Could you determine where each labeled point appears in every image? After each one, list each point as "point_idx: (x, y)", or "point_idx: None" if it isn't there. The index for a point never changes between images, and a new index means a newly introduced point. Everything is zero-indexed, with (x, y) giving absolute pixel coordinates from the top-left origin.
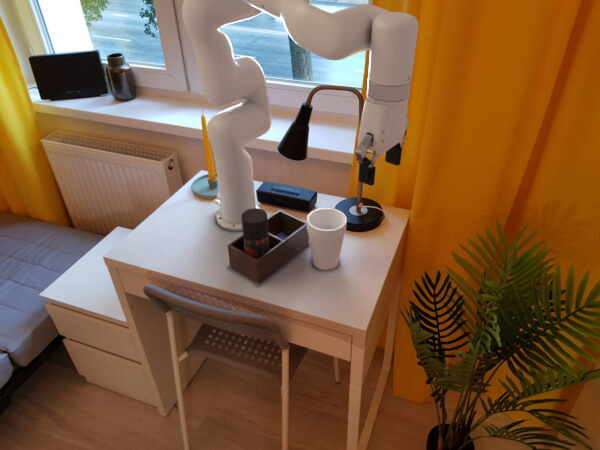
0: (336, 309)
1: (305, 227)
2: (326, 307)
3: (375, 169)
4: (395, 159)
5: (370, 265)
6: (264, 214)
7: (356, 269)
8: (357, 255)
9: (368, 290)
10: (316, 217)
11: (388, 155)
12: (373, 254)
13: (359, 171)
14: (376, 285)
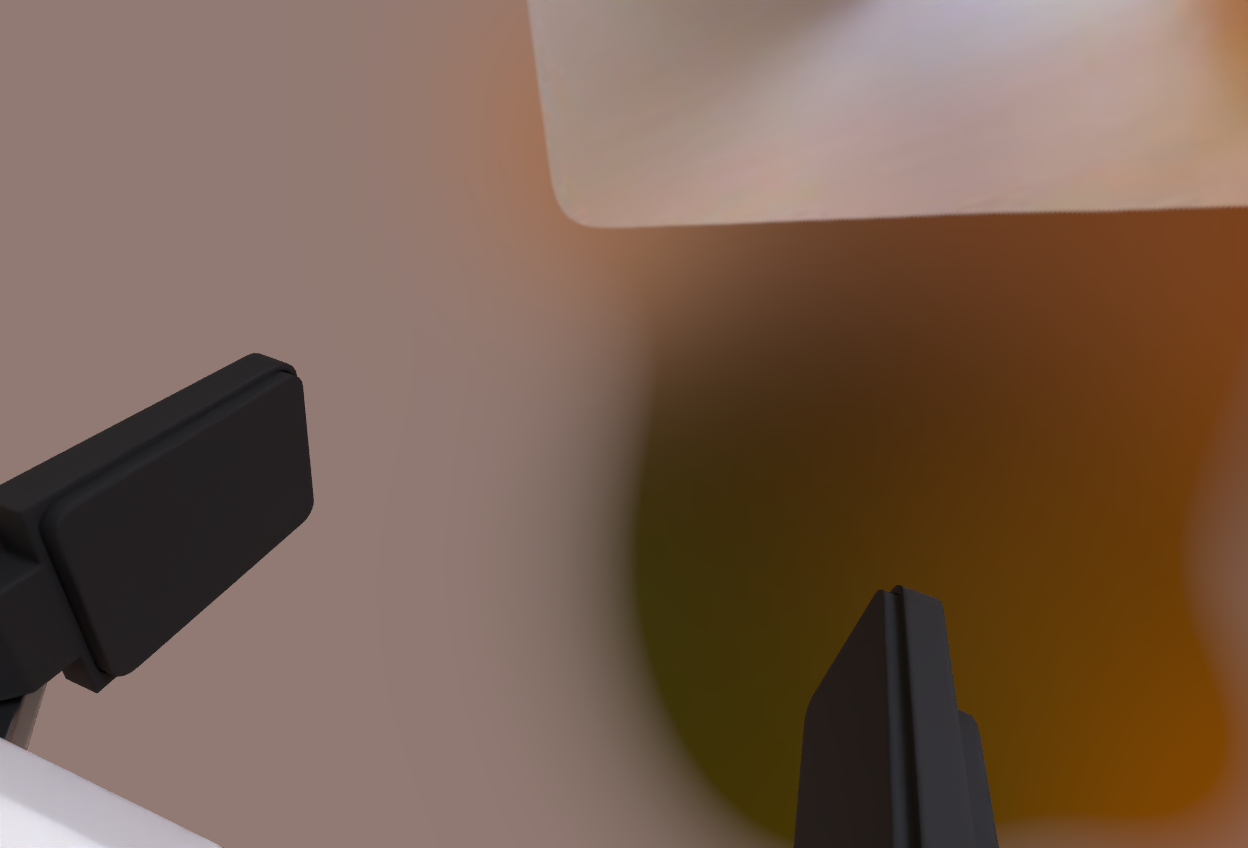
0: (591, 101)
1: None
2: (582, 55)
3: (136, 658)
4: (817, 756)
5: (923, 143)
6: None
7: (870, 85)
8: (995, 43)
9: (745, 190)
10: None
11: (863, 709)
12: (1025, 128)
13: (146, 413)
14: (788, 213)
